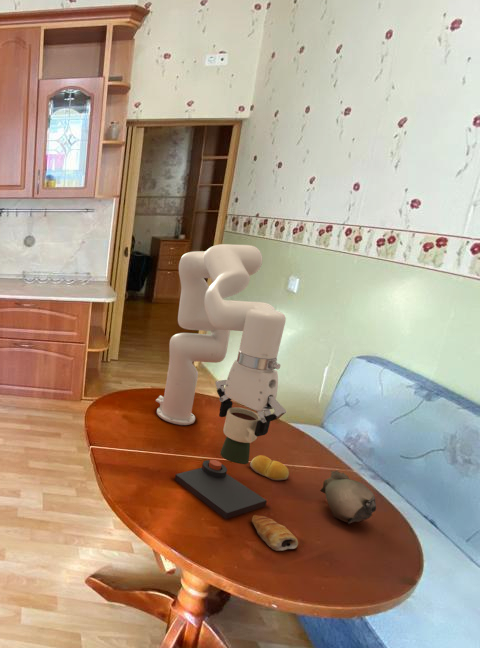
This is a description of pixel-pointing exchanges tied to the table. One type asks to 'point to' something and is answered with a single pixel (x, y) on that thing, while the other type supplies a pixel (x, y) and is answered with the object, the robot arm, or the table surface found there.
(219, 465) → the button
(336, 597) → the table surface
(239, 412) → the character mug
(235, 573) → the table surface
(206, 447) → the table surface
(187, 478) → the scale
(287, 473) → the bread roll
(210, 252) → the robot arm
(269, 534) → the pastry
